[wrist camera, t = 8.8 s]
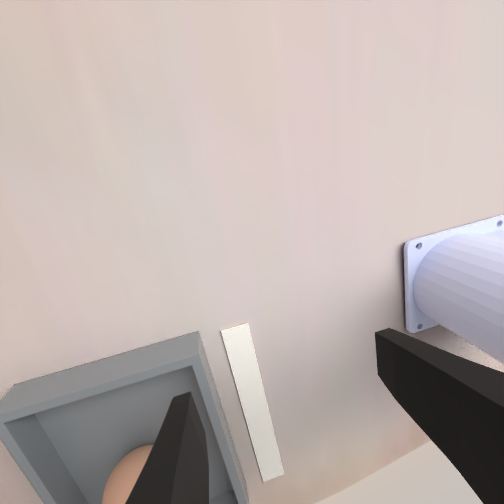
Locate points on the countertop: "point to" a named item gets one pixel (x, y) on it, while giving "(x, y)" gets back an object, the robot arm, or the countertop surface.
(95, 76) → the countertop surface
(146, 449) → the ball
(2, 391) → the countertop surface
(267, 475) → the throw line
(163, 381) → the tray
